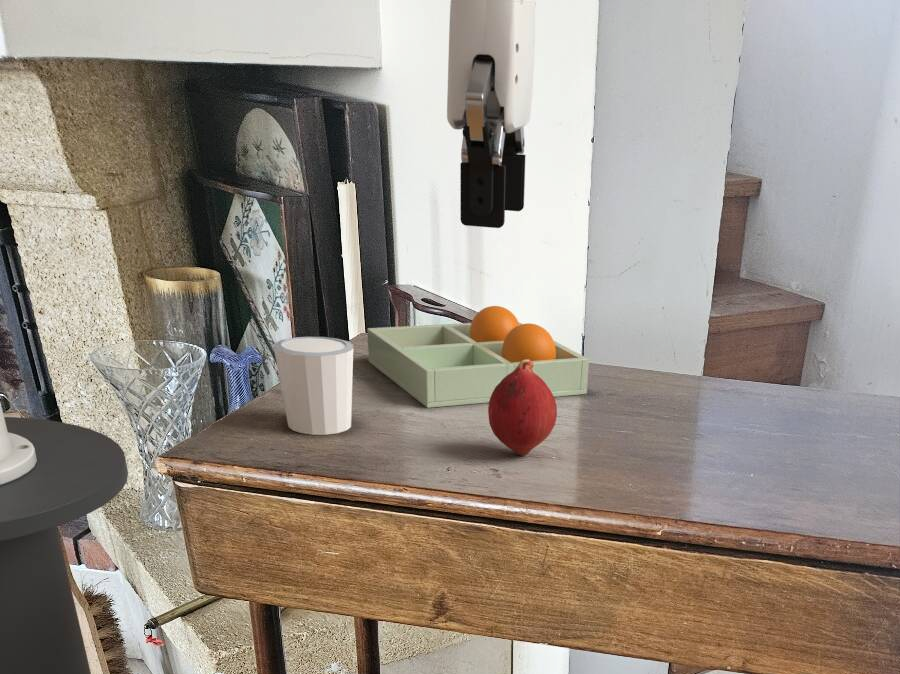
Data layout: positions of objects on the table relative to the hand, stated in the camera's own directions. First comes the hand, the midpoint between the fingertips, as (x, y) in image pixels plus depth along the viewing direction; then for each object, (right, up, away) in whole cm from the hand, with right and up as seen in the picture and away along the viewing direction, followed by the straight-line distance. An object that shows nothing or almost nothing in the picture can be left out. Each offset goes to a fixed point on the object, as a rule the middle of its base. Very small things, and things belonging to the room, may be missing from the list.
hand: (493, 217), depth 80 cm
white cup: (-17, -12, +14) cm, 25 cm away
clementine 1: (-2, +2, +34) cm, 34 cm away
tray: (-4, -2, +29) cm, 30 cm away
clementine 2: (+2, -3, +28) cm, 28 cm away
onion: (+2, -16, +10) cm, 19 cm away
